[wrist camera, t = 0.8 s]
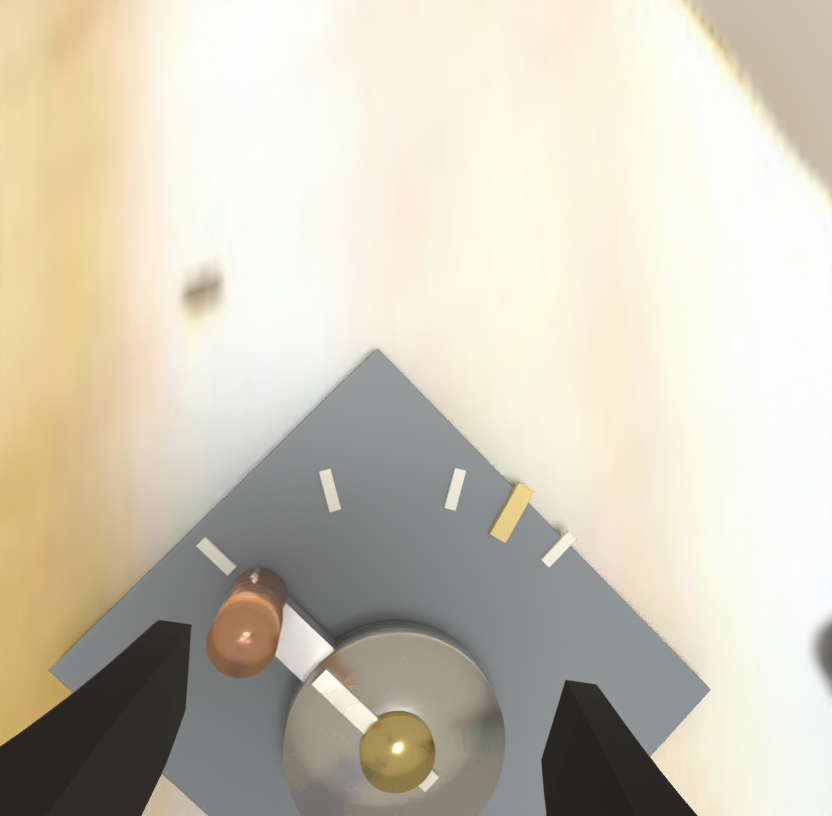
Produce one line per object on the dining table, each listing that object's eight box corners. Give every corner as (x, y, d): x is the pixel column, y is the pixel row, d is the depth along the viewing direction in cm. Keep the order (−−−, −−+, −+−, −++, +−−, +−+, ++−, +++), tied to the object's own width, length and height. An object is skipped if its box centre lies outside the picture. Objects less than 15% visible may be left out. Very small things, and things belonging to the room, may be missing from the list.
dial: (535, 717, 30) (580, 786, 25) (391, 871, 29) (405, 978, 24) (315, 501, 29) (311, 523, 23) (159, 656, 28) (118, 717, 23)
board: (418, 985, 31) (423, 1017, 29) (60, 659, 29) (44, 674, 27) (703, 671, 33) (722, 685, 31) (383, 343, 31) (386, 339, 29)
